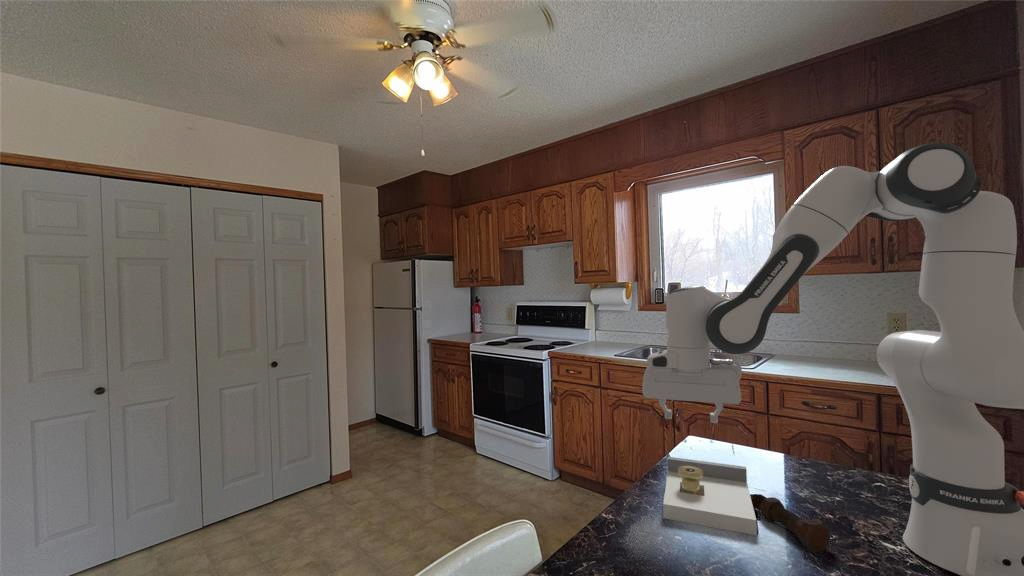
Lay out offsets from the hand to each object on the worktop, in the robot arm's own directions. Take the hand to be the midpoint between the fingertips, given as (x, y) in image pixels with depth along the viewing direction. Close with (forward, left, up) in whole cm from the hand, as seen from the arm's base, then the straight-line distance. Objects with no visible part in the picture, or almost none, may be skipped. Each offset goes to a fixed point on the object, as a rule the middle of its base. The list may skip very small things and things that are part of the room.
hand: (690, 420), depth 93 cm
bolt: (-17, +4, -19) cm, 26 cm away
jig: (-3, 0, -18) cm, 19 cm away
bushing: (0, 0, -18) cm, 18 cm away
